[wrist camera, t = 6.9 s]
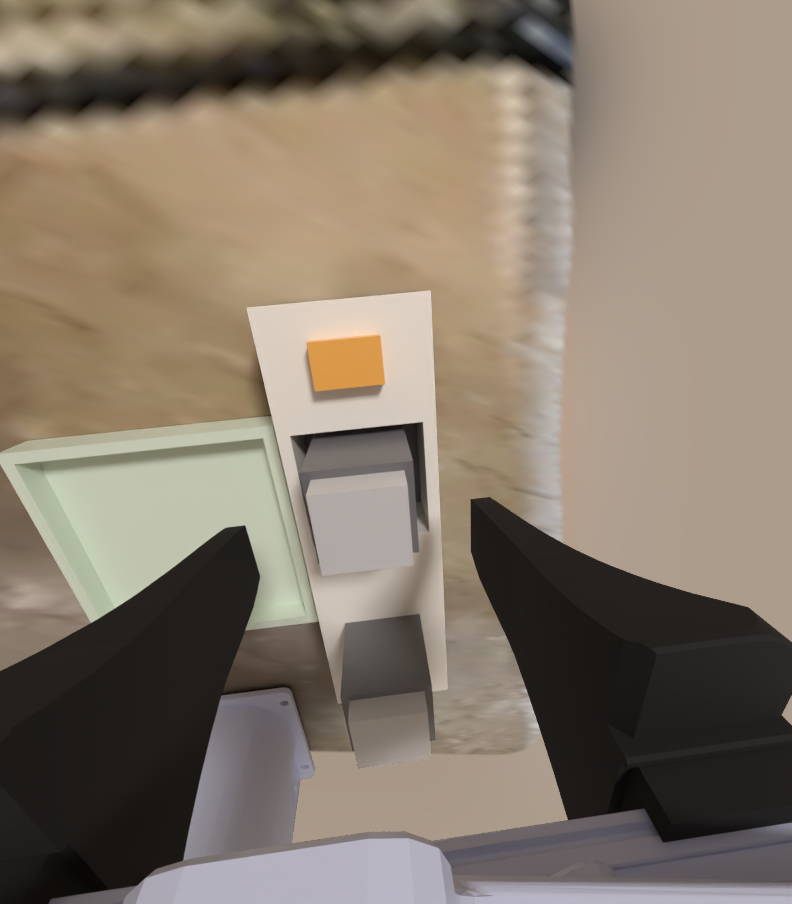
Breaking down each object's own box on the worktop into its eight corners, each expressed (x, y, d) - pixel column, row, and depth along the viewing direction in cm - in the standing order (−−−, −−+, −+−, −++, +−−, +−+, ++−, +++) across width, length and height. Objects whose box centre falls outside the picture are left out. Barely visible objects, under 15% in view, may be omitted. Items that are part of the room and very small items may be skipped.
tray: (321, 599, 21) (318, 621, 19) (123, 624, 20) (105, 647, 19) (280, 414, 16) (272, 425, 15) (26, 440, 16) (-6, 454, 14)
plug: (405, 485, 18) (423, 571, 12) (330, 493, 17) (314, 584, 12) (399, 414, 16) (417, 474, 11) (318, 422, 16) (293, 488, 10)
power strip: (437, 641, 23) (467, 786, 16) (341, 654, 22) (331, 806, 16) (418, 291, 15) (462, 287, 8) (269, 305, 14) (185, 312, 8)
